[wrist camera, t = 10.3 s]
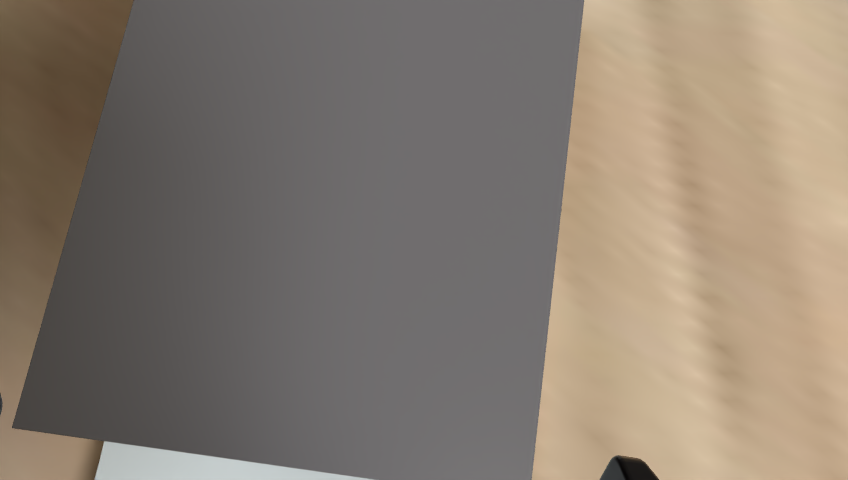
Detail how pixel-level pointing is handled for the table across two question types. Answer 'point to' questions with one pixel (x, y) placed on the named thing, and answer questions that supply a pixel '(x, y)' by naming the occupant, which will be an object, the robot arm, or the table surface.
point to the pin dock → (191, 467)
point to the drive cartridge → (318, 237)
